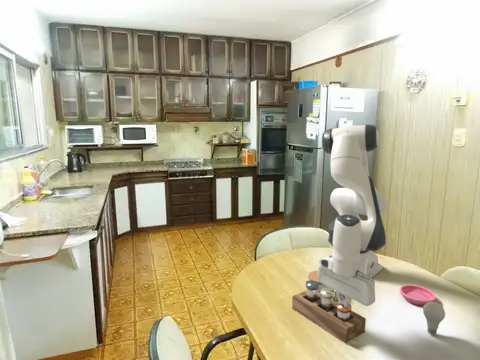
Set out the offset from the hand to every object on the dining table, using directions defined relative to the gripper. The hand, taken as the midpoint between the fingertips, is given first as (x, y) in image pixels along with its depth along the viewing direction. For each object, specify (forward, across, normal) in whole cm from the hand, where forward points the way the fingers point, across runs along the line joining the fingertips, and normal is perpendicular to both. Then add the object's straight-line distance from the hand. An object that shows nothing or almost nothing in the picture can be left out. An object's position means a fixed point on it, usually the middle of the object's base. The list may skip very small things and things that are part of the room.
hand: (343, 305), depth 105 cm
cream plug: (+4, +7, 0) cm, 8 cm away
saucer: (+9, -4, -40) cm, 41 cm away
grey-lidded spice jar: (+4, +14, 0) cm, 15 cm away
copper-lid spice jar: (+6, 0, 0) cm, 6 cm away
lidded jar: (+9, +20, -12) cm, 25 cm away
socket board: (+9, +7, 0) cm, 11 cm away
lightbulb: (+9, -18, -22) cm, 30 cm away
